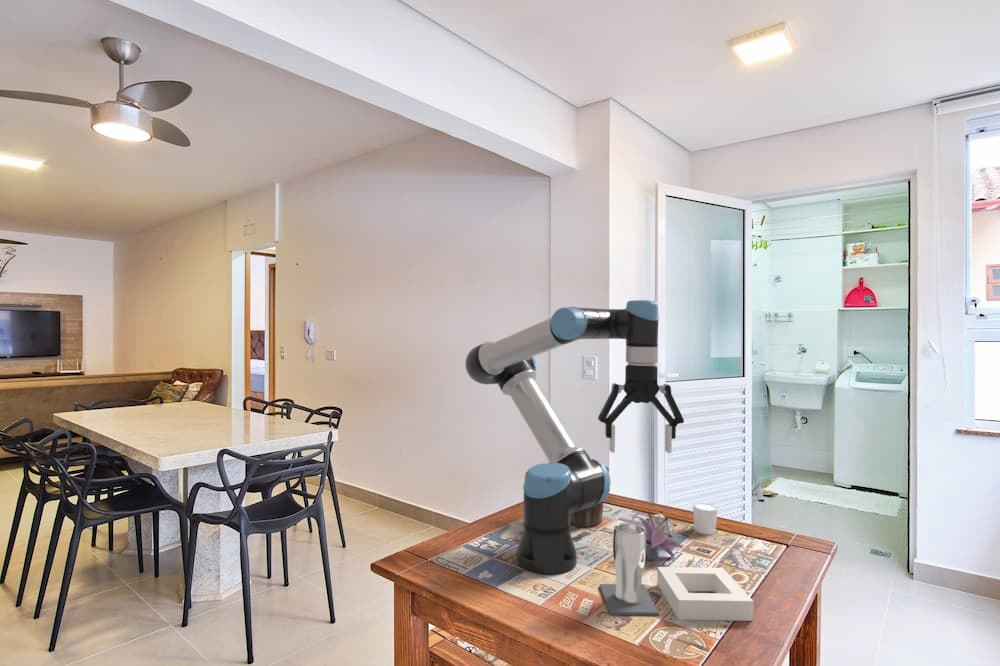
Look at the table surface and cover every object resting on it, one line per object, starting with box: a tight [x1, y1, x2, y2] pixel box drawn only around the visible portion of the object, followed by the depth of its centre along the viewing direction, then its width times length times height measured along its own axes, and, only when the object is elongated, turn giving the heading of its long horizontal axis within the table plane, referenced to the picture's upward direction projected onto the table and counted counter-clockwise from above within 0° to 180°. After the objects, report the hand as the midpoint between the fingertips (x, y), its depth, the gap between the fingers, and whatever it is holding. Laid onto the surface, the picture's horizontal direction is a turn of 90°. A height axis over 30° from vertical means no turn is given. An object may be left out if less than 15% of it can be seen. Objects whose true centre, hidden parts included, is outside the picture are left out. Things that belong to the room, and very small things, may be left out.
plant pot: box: [570, 465, 610, 528], centre depth 165 cm, size 16×16×16 cm
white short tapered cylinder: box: [692, 503, 719, 535], centre depth 158 cm, size 7×7×7 cm
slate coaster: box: [599, 583, 660, 616], centre depth 117 cm, size 10×12×1 cm
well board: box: [656, 566, 755, 622], centre depth 117 cm, size 15×15×4 cm
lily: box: [639, 517, 684, 562], centre depth 138 cm, size 12×12×10 cm
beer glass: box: [612, 522, 647, 605], centre depth 117 cm, size 7×7×15 cm
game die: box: [645, 510, 678, 539], centre depth 149 cm, size 9×8×10 cm
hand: (640, 451), depth 131 cm, fingers open, 13 cm apart
